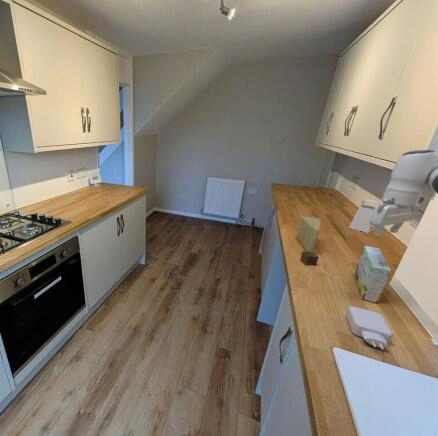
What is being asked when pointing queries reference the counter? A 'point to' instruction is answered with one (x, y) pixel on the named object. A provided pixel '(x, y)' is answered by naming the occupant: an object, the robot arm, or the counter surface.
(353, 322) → the charger
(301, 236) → the cheese
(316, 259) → the walnut block
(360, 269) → the snack box
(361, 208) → the grater
